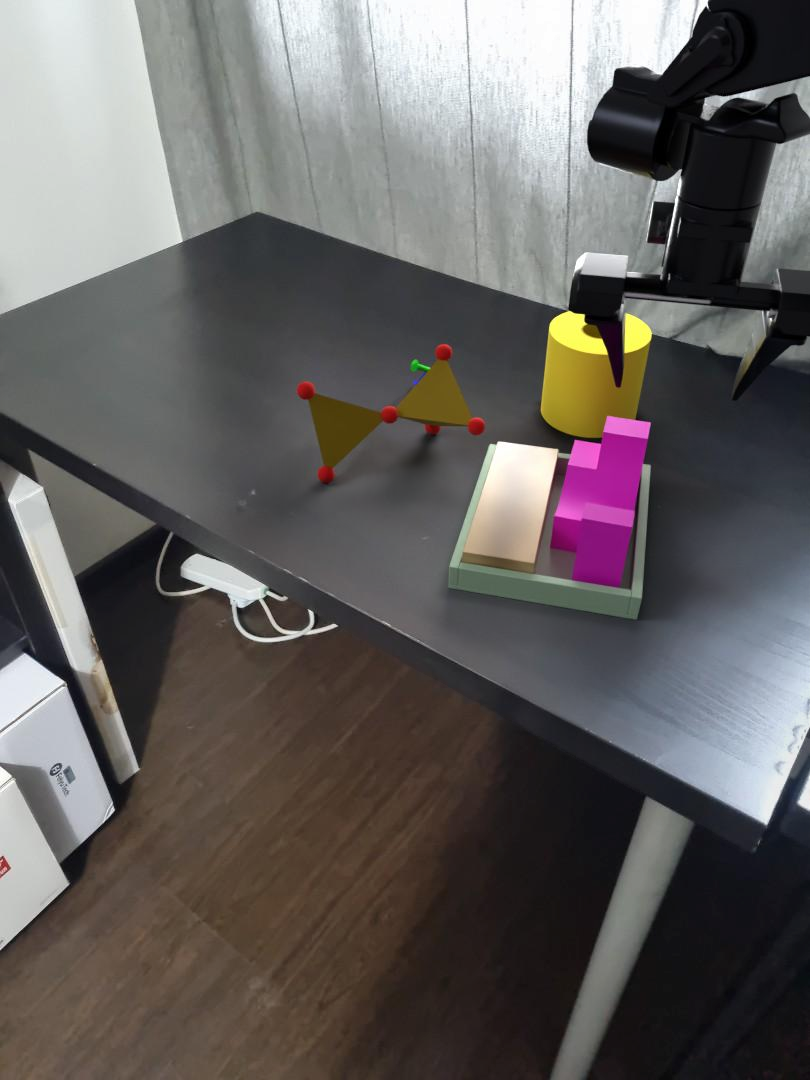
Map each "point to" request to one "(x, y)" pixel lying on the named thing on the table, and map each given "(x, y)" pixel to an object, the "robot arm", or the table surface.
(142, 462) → the table surface
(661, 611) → the table surface
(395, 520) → the table surface
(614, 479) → the toy block
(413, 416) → the molecule model
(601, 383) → the yellow hollow cylinder
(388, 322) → the table surface
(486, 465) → the frame
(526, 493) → the back pad
